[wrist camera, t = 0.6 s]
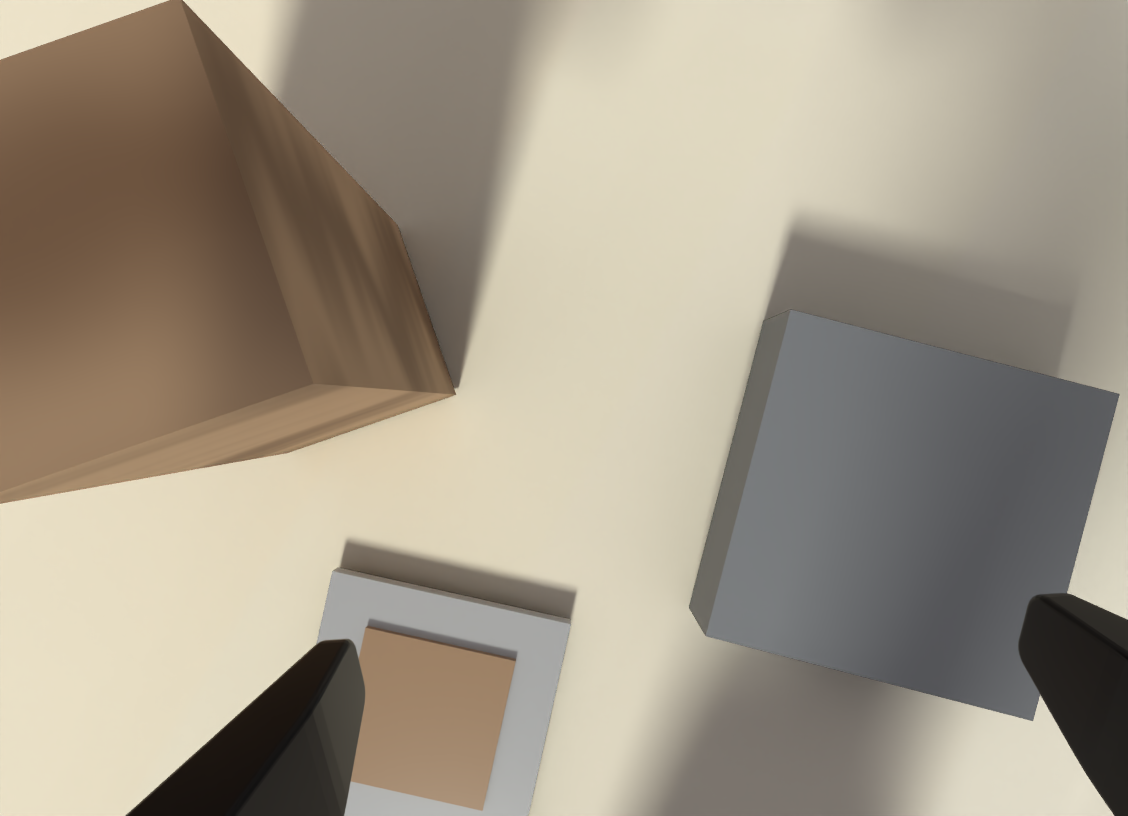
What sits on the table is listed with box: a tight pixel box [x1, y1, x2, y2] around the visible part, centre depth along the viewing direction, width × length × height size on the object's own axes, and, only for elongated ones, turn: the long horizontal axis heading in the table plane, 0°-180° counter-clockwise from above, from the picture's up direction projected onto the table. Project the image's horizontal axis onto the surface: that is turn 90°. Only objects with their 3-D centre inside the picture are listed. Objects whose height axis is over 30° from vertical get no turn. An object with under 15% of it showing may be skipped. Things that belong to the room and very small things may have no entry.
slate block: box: [689, 310, 1119, 721], centre depth 21 cm, size 10×10×3 cm
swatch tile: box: [317, 568, 571, 816], centre depth 22 cm, size 8×8×1 cm
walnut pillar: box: [0, 0, 456, 504], centre depth 16 cm, size 6×6×12 cm
